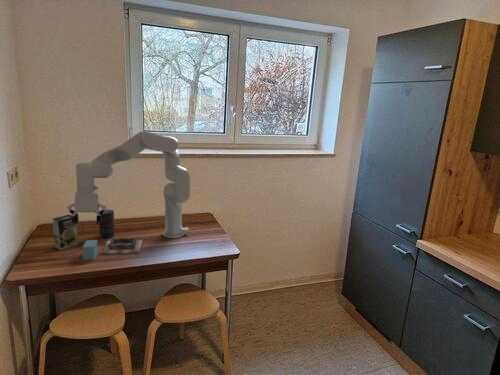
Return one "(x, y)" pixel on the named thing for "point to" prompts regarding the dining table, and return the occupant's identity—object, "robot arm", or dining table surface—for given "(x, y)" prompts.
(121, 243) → the keyed nest
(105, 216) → the camera lens
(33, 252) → the dining table surface
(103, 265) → the dining table surface
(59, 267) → the dining table surface
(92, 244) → the key block
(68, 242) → the coffee box
